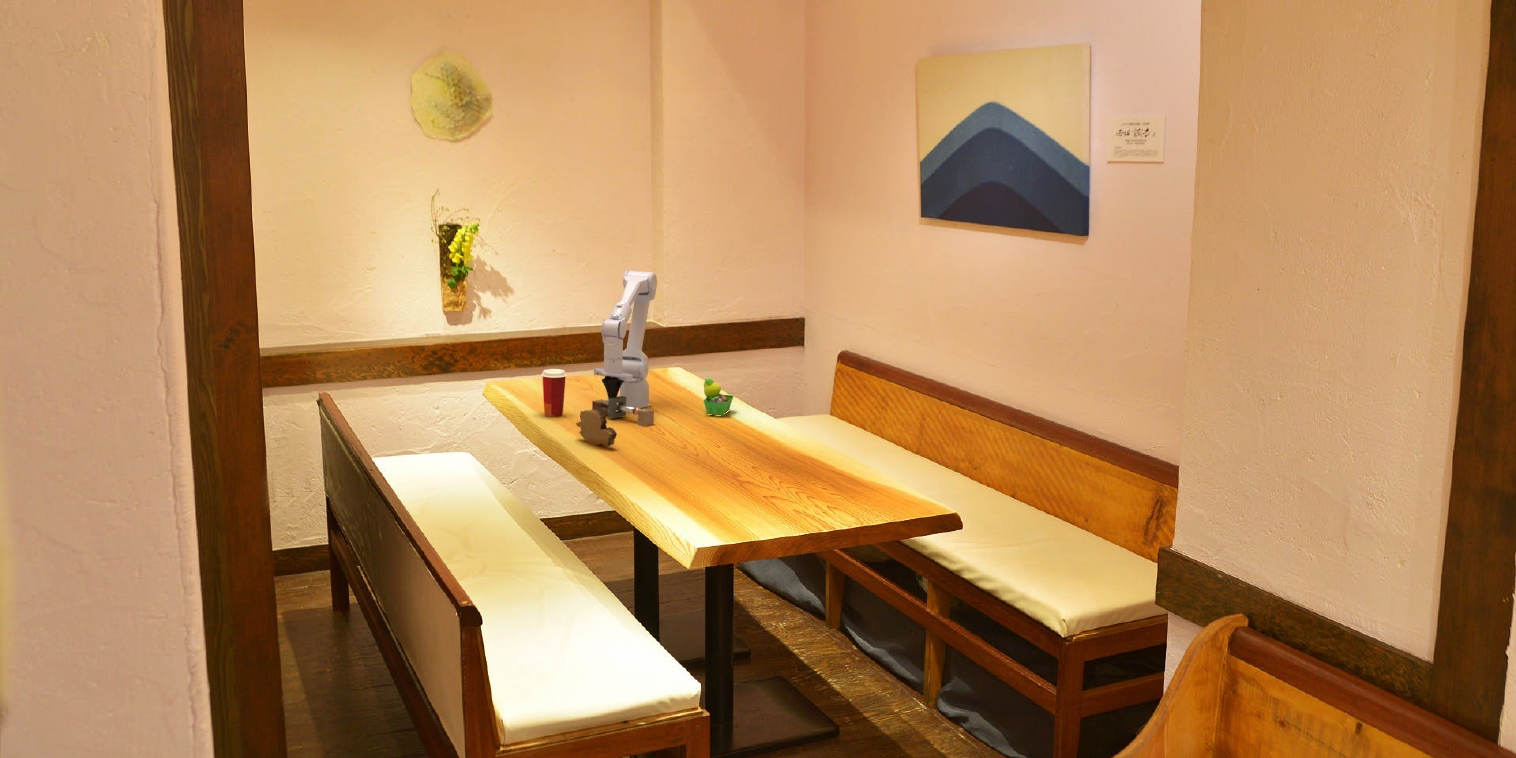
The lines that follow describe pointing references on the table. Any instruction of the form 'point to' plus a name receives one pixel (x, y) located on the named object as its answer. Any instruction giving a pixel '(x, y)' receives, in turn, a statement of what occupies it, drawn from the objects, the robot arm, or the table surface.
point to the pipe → (643, 415)
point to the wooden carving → (596, 428)
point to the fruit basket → (715, 399)
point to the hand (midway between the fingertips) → (612, 400)
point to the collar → (612, 407)
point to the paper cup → (553, 392)
